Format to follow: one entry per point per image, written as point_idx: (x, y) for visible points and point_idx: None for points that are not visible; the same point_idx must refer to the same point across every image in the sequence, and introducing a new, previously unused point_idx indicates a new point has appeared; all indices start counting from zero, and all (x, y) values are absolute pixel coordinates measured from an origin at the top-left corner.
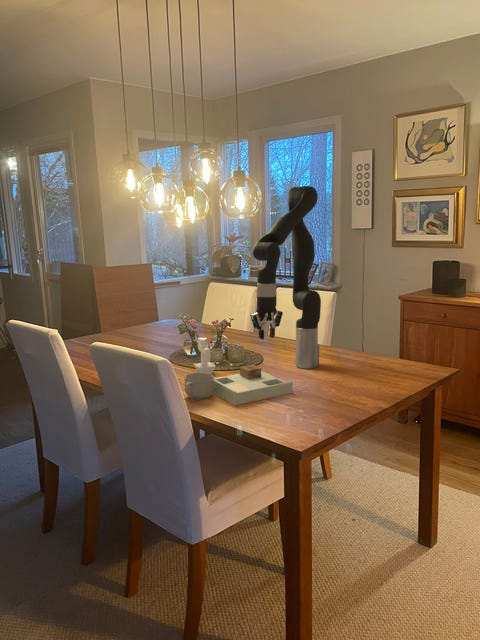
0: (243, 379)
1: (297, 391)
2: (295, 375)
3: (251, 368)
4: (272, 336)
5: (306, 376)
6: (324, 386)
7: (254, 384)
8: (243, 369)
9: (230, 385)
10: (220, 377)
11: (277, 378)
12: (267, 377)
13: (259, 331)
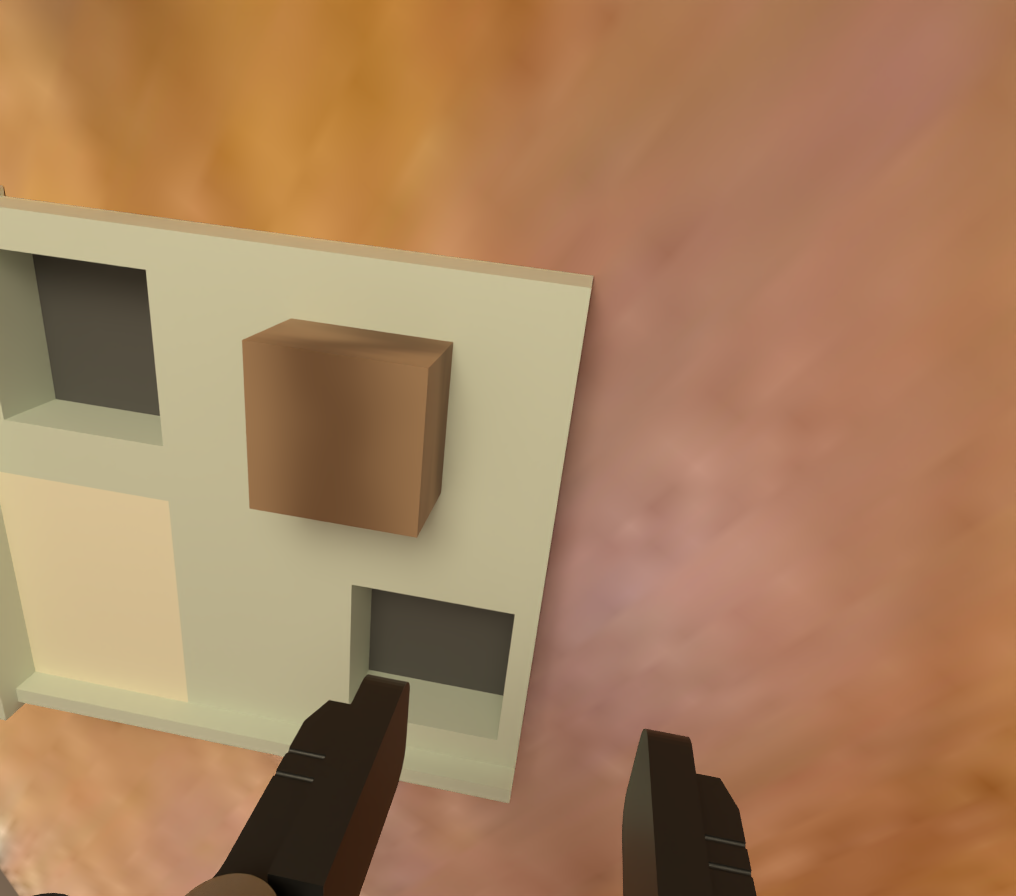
0: None
1: (569, 736)
2: (911, 477)
3: (323, 474)
4: (625, 841)
5: (956, 565)
6: (810, 796)
7: (271, 597)
8: (251, 415)
9: (89, 489)
10: (88, 234)
11: (531, 615)
12: (478, 539)
13: (252, 858)
